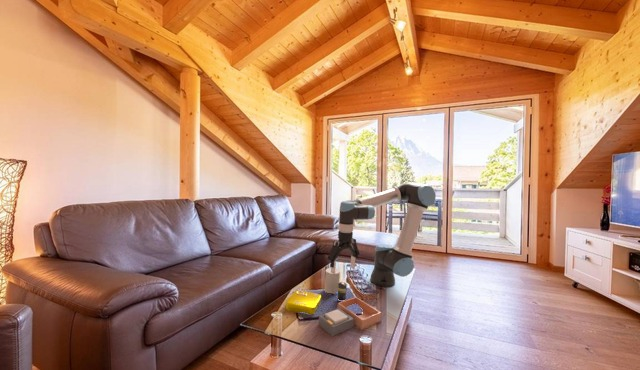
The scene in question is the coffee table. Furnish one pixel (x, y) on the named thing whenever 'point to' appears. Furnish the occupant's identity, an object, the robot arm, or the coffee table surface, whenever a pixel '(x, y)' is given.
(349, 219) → the robot arm
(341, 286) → the battery cell
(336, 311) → the pad
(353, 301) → the tray
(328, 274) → the cup
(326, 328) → the box
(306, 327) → the coffee table surface
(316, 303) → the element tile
